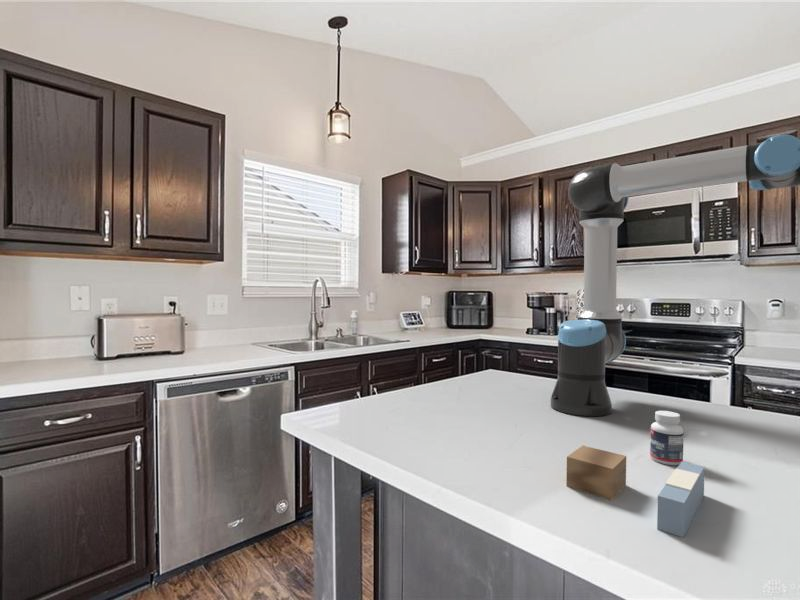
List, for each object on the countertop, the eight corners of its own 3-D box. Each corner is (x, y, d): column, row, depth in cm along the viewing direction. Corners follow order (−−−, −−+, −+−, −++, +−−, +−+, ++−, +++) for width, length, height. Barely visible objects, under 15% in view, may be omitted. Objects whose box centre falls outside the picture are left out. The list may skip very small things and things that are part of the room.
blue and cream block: (657, 528, 59) (657, 494, 59) (681, 489, 71) (681, 459, 70) (683, 537, 57) (684, 501, 57) (703, 494, 69) (704, 465, 68)
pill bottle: (643, 455, 85) (644, 409, 85) (669, 454, 85) (670, 409, 85) (662, 466, 80) (663, 417, 79) (689, 465, 80) (690, 417, 80)
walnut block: (566, 487, 72) (566, 456, 71) (582, 473, 77) (582, 445, 77) (612, 501, 67) (612, 468, 67) (625, 486, 72) (626, 456, 72)
